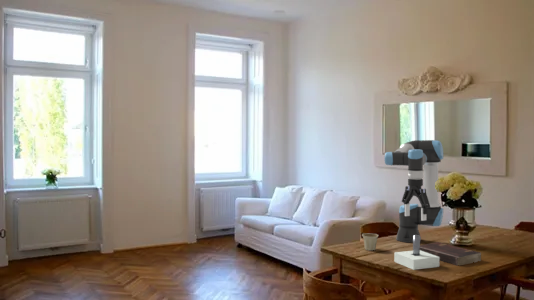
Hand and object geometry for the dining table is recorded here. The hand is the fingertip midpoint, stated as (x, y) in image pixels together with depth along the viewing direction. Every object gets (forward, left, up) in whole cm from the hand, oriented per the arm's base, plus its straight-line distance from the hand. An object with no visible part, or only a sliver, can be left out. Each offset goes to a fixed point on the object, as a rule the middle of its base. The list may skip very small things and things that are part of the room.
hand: (415, 218), depth 249 cm
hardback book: (-23, -2, -24) cm, 33 cm away
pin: (+3, +4, -22) cm, 23 cm away
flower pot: (+7, -32, -24) cm, 40 cm away
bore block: (+2, +4, -23) cm, 24 cm away
